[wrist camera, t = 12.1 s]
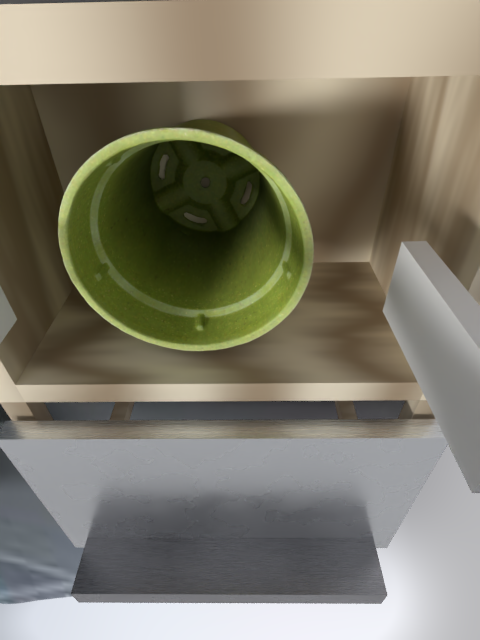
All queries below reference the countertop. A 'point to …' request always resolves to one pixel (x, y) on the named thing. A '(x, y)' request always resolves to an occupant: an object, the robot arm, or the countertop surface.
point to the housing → (277, 146)
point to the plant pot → (186, 237)
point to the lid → (227, 503)
